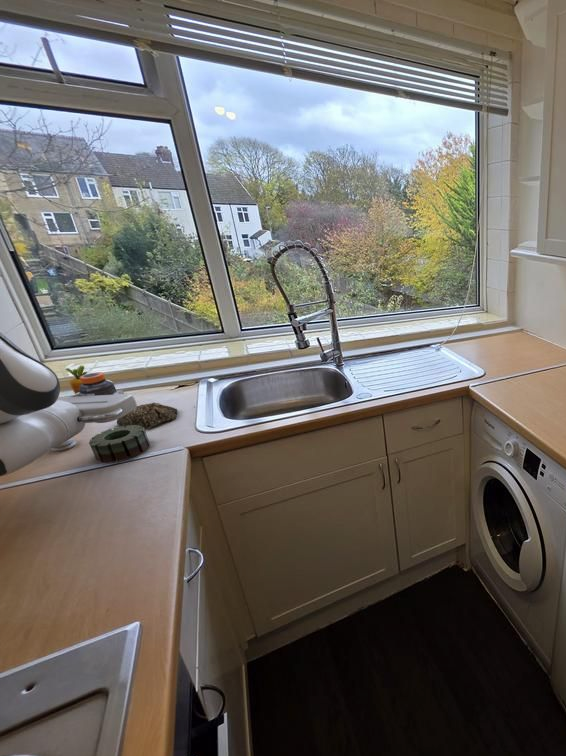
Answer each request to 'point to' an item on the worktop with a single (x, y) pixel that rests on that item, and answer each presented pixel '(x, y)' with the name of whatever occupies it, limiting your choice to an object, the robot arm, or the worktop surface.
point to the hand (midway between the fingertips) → (102, 394)
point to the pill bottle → (96, 386)
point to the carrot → (76, 382)
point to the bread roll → (148, 415)
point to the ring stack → (119, 443)
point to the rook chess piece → (65, 445)
